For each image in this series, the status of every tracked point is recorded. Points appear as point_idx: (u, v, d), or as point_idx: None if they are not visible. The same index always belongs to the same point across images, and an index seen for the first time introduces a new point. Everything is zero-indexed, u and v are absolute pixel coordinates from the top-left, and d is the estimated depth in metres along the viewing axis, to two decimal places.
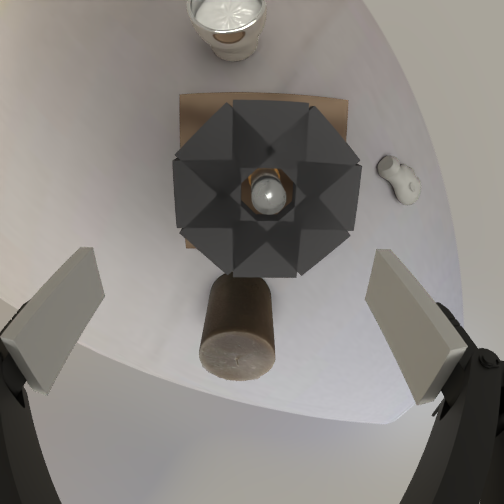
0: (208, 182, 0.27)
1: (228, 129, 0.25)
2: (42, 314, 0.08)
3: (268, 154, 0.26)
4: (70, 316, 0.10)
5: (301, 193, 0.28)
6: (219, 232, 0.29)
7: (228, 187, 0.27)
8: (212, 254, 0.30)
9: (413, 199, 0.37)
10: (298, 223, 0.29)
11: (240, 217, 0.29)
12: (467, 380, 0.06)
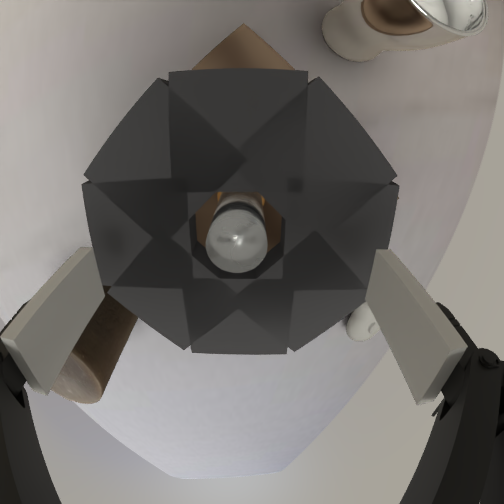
0: (175, 150, 0.14)
1: (273, 106, 0.13)
2: (42, 314, 0.08)
3: (289, 188, 0.15)
4: (70, 316, 0.10)
5: (279, 270, 0.17)
6: (130, 228, 0.16)
7: (195, 181, 0.15)
8: (101, 247, 0.16)
9: (362, 339, 0.31)
10: (241, 300, 0.18)
11: (174, 233, 0.16)
12: (467, 380, 0.06)
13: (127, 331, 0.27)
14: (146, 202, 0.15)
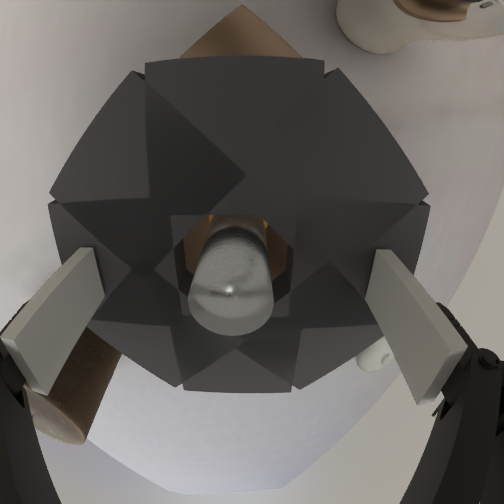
0: (153, 163, 0.11)
1: (279, 104, 0.10)
2: (42, 314, 0.08)
3: (299, 210, 0.12)
4: (70, 316, 0.10)
5: (285, 307, 0.14)
6: (105, 257, 0.13)
7: (179, 202, 0.12)
8: None
9: (374, 370, 0.27)
10: (239, 339, 0.15)
11: (157, 265, 0.13)
12: (467, 380, 0.06)
13: (111, 367, 0.23)
14: (121, 227, 0.12)
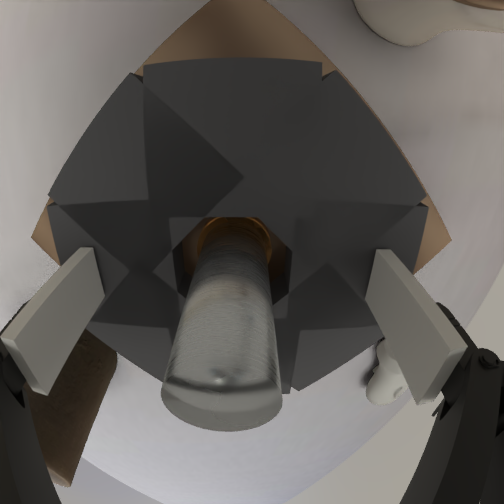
0: (152, 165, 0.11)
1: (277, 106, 0.10)
2: (42, 314, 0.08)
3: (297, 212, 0.12)
4: (70, 316, 0.10)
5: (283, 309, 0.14)
6: (104, 259, 0.13)
7: (178, 204, 0.12)
8: None
9: (385, 404, 0.23)
10: None
11: (156, 267, 0.13)
12: (467, 379, 0.06)
13: (95, 406, 0.19)
14: (120, 229, 0.12)
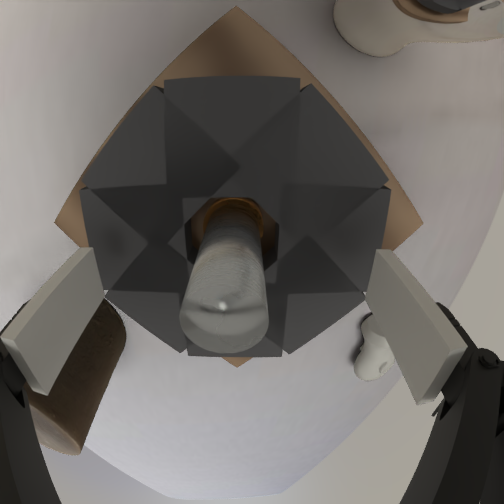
0: (170, 157, 0.14)
1: (266, 113, 0.13)
2: (42, 314, 0.08)
3: (282, 193, 0.15)
4: (70, 316, 0.10)
5: (273, 274, 0.17)
6: (127, 233, 0.16)
7: (190, 187, 0.15)
8: (98, 252, 0.17)
9: (372, 379, 0.27)
10: None
11: (170, 238, 0.16)
12: (467, 380, 0.06)
13: (106, 377, 0.22)
14: (142, 208, 0.15)
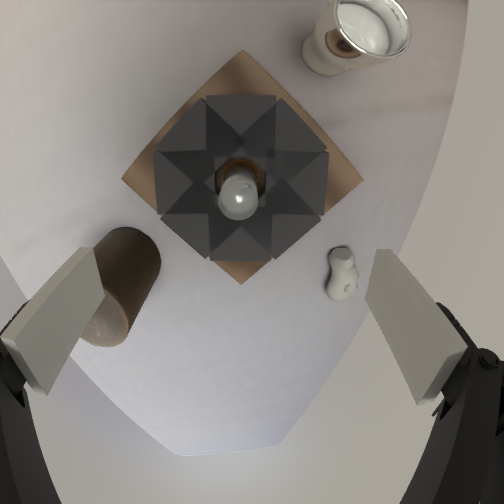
0: (208, 135, 0.27)
1: (258, 113, 0.26)
2: (42, 314, 0.08)
3: (267, 155, 0.28)
4: (70, 316, 0.10)
5: (263, 201, 0.30)
6: (181, 177, 0.29)
7: (218, 152, 0.28)
8: (161, 189, 0.30)
9: (340, 299, 0.40)
10: (242, 220, 0.31)
11: (206, 180, 0.29)
12: (467, 379, 0.06)
13: (148, 287, 0.35)
14: (191, 162, 0.28)
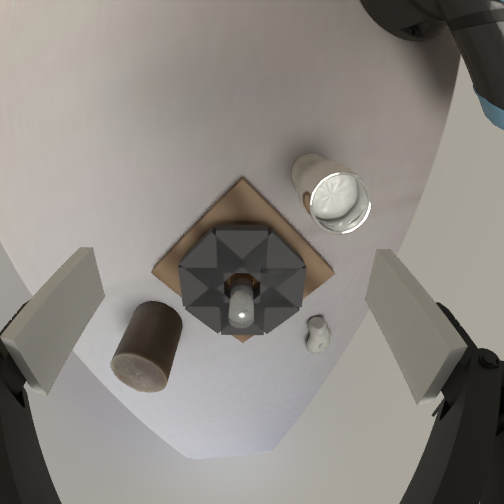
0: (218, 258, 0.40)
1: (255, 244, 0.39)
2: (42, 314, 0.08)
3: (261, 271, 0.41)
4: (70, 316, 0.10)
5: (258, 300, 0.43)
6: (199, 284, 0.42)
7: (226, 269, 0.41)
8: (185, 291, 0.43)
9: (316, 352, 0.53)
10: None
11: (217, 287, 0.42)
12: (467, 380, 0.06)
13: (176, 348, 0.48)
14: (207, 275, 0.41)
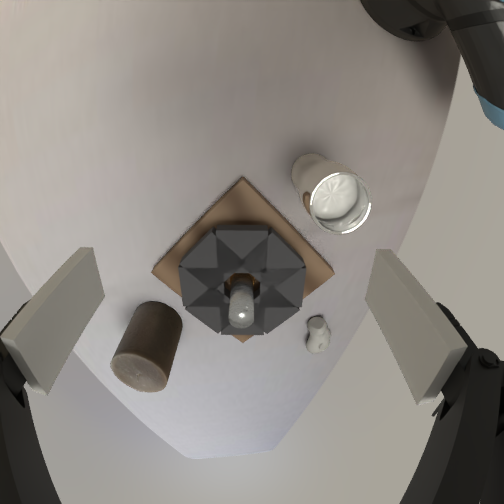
0: (219, 258, 0.40)
1: (255, 244, 0.39)
2: (42, 314, 0.08)
3: (261, 271, 0.41)
4: (70, 316, 0.10)
5: (258, 300, 0.43)
6: (199, 284, 0.42)
7: (226, 269, 0.41)
8: (185, 291, 0.43)
9: (315, 352, 0.53)
10: None
11: (218, 287, 0.42)
12: (467, 379, 0.06)
13: (176, 348, 0.48)
14: (207, 275, 0.41)
